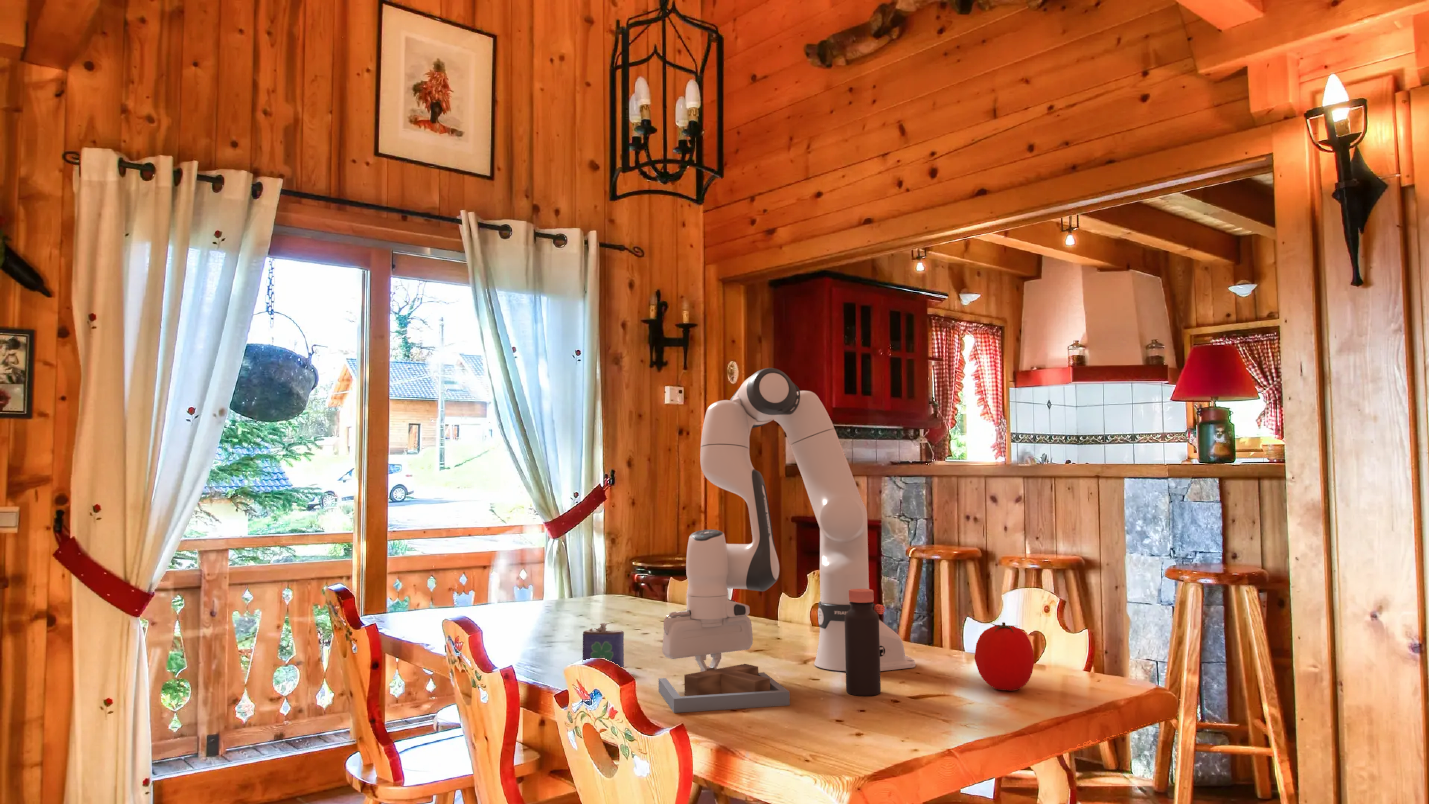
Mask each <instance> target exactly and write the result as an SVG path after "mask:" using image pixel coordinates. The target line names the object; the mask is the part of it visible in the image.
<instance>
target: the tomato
mask: <svg viewBox="0 0 1429 804" xmlns="http://www.w3.org/2000/svg"><path fill="white" fill-rule="evenodd" d="M987 623H989V624H991V625H993V626H990V627H989V628H987V629H985V630H984V631H983V632H982V633H981V634H980V635H979V637H978V639H977V640H976V641H977V642H976V645H975V650H974V662H975V665H976V668H977V671H978V674H979V675H980V677H981V679H982V680H983V681H984V682H985V683H986V684H988V685H989V686H990V687H992V688H994V689H995V690H1002V691H1009V692H1013V691H1016V690H1019V689H1021V688H1023V687H1024V686H1025V685H1026V684H1027V683H1028V682H1029V680H1030V679H1031V677H1032V674H1033V670H1034V666H1035V657H1034V655H1035V654H1034V649H1033V646H1032V642H1031V640H1030V638H1029V637H1028V635H1027V634H1026V632H1024V631H1023V630H1022V629H1021V628H1020V627H1019V628H1018V627H1017V626H1015V625H1006V622H1005V621H1003V622H1001V624H994V623H993V622H990V621H987Z"/></svg>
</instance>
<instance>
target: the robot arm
mask: <svg viewBox="0 0 1429 804" xmlns="http://www.w3.org/2000/svg"><path fill="white" fill-rule="evenodd" d="M772 421H774V422H776V423H778V425H779V426H780V427H781V428H782V430H783V432H785V435H786V439H787V442H788V444H789V446H790V449H791V452H792V454H793V455H792V456H793V457H794V460H795V462H796V465H797V468H798V470H799V472H800V475H801V477H802V478H801V479H802V480H803V481H802V482H803V484H804V488H805V490H806V493H807V496H808V499H809V501H810V505H811V507H812V511H813V513H814V515H815V519H816V521H817V522H816V523H817V524H818V527H819V593H820V594H819V598H820V599H819V602H818V609H817V618H818V619H817V620H818V626H819V635H818V644H817V645H818V646H817V650H816V657H815V660H814V662H813V664H814V666H816V667H817V668H820V669H825V670H828V671H829V670H830V671H839V672H840V671H841V672H846V661H845V615H846V613H847V612H848V611H849V610H850V609H851V604H849V602H850V601H849V590H851V589H870V582H869V578H870V577H869V576H870V575H869V573H870V571H869V545H868V544H869V540H868V539H869V536H868V533H869V532H868V511H867V507H866V505H865V504H864V501H863V499H862V495H861V494H860V491H859V489H858V486H857V483H856V481H855V479H854V476H853V472H852V470H851V468H850V465H849V461H848V459H847V457H846V454H845V451H844V449H843V447H842V444H841V442H840V439H839V437H838V434H837V431H836V429H835V427H834V424H833V421H832V420H831V418H830V416H829V413H828V411H827V410H826V408H825V406H824V404H823V402H822V401H821V400H820V398H819V396H818V394H816V393H815V392H813V391H811V390H800V387H798V386H797V384H795V383H794V382H793V381H792V380H791V378H790V377H789V376H788V375H787V374H786V373H785V372H783V371H782V370H780V369H778V368H773V367H765V368H763V369H760V370H757V371H756V372H754V373H753V374H752V375H751V376H749V377H748V378H746V379H745V380H744V381H743V382H742V384H741V385H740V387H739V388H738V389H737V390H736V391H735V392H734V393H733V396H732V397H731V398H730V400H728V399H723V400H718V401H715V402H713V403H711V404H710V405H709V406H708V407H707V409H706V412H705V415H704V420H703V425H702V431H701V436H700V437H701V439H700V450H699V451H700V454H699V457H700V458H699V460H700V461H699V463H700V468H701V472H702V474H703V476H704V477H705V479H707V481H709V482H710V483H711V484H713V485H714V486H716V487H718V488H720V489H723V490H724V491H727V492H730V493H733V494H735V495H737V496H739V497H741V498H742V499H743V500H744V501H745V502H746V503H745V504H746V505H747V508H748V514H749V515H748V516H749V522H750V523H749V524H750V527H751V529H750V530H751V535H752V536H751V537H752V542H751V543H727V542H726V537H725V536H726V535H725V533H724V532H723V531H721V530H718V529H703V530H702V529H701V530H698V531H697V530H696V531H695V532H692V533H691V534H690V535H689V537H688V540H687V541H688V542H687V548H686V559H685V560H686V561H685V562H686V563H685V570H686V571H685V572H686V578H687V588H686V589H687V590H686V610H683V611H682V610H681V611H672V612H669V614H668V615H666V616H665V618H664V619H663V637H662V654H663V655H664V657H665V658H668V659H670V660H678V659H684V658H685V659H686V658H691V657H694V658H695V661H696V662H697V664H698V667H699V668H700V672H702V671H708V670H714V669H718V667H719V664H720V662H721V660H722V654H723V653H724V654H725V653H730V652H732V653H733V652H740V651H749V650H750V649H751V648H752V646H753V640H754V638H753V637H754V636H753V634H754V633H753V626H752V625H753V624H752V621H751V619H750V617H749V614H750V606H749V605H748V604H745V603H741V602H736V601H735V600H732V599H729V589H731V590H733V589H736V590H737V589H738V590H739V589H740V590H748V591H757V592H765V591H767V590H768V589H770V588H771V587H773V585H774V584H775V583H777V581H778V580H779V575H780V562H779V558H778V554H777V549H776V545H775V540H774V533H773V526H772V519H771V513H770V507H769V506H770V505H769V499H768V494H767V489H766V488H767V487H766V484H765V480H764V477H763V475H762V473H761V472H760V471H759V470H757V469H755V468H754V466H753V464H752V461H751V456H750V455H751V454H750V437H751V433H752V432H751V431H752V429H754V428H755V429H756V428H760V427H762V426H765V425H767V424H768V423H770V422H772ZM872 609H873V610H874V611H875V612H876V613H877V614H878V615H883V614H884V612H885V611H886V607H885V606H884V605H883V604H879V603H877V604H876V603H874V604H872ZM879 639H880V672H883V671H891V670H892V671H894V670H901V669H911V668H912V669H913V668H915V667H916V661H915V660H914V659H913V658H912V657H909V656H907V655H906V652H905V647H904V646H905V645H904V643H903V640H902V638H901V636H900V635H899V634H898V633H897V632H895V631H894V630H893V629H892V628H891V627H889V626H888V625H886V623H884V622H883V621H882V620H881V619H879ZM707 655H708V656H710V658H711V661H710V664H709V665H708V666H707V664H706V663H705V661H706V660H707Z"/></svg>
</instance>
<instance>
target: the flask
mask: <svg viewBox="0 0 1429 804" xmlns="http://www.w3.org/2000/svg"><path fill="white" fill-rule="evenodd" d="M599 625H600V626H599V627H598V628H594V629H593V628H592V627H591V628H590V629H588V630H583V633H582V661H583V660H586V659H590V658H605V659H607V660H609V661H612V662H614V663H615V664H618V665H619V666H620V667H623V668H624V669H625V662H624V661H625V658H624V657H625V656H624V655H625V654H624V653H625V651H624V646H625V644H624V640H625V639H624V637H625V636H624V635H625V632H624V631H623V629H622V630H620V629H619V630H607V625H608V623H606V622H600V623H599Z"/></svg>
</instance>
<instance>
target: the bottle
mask: <svg viewBox="0 0 1429 804" xmlns="http://www.w3.org/2000/svg"><path fill="white" fill-rule="evenodd" d="M874 593H875V592H874V590H873V589H870V588H869V589H851V590H849V601H850V602H849V604H851V609H850V610H849V611H848V612H847V613H846V615H845V661H846V671H845V692H847V694H849V695H852V696H856V697H857V696H858V697H873V696H878V695H879V694H881V691H882V690H881V689H882V687H881V686H882V685H881V682H882V681H881V680H882V679H881V671H880V639H879V620H880V616H879V613H876V612H875V611H874V610H873V609H872V604H875V603H874Z"/></svg>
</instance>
